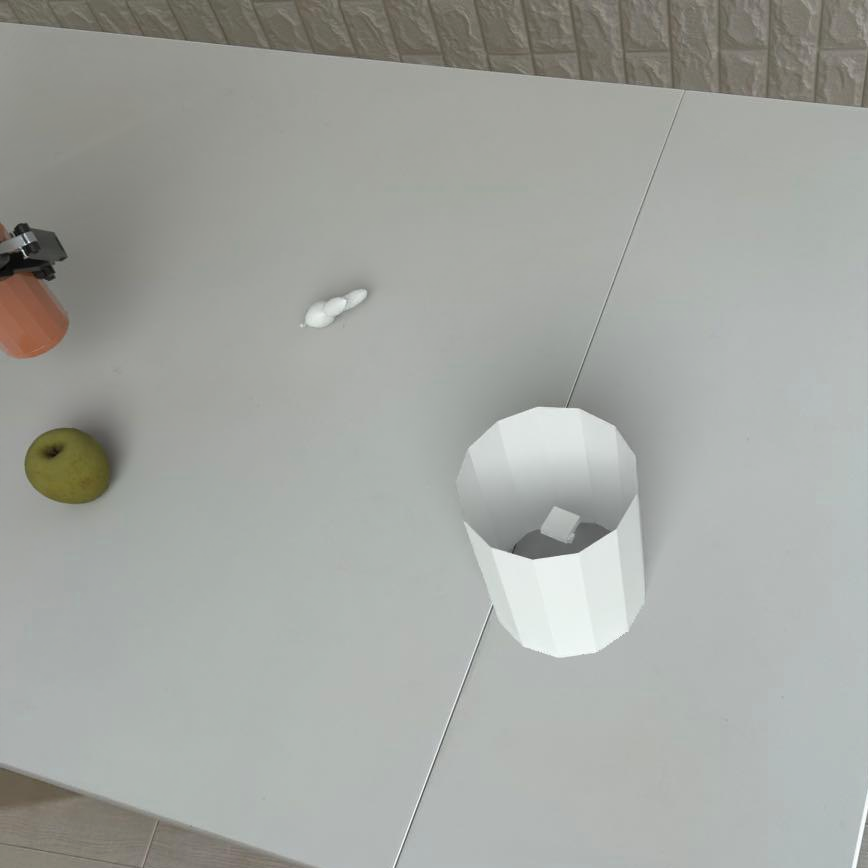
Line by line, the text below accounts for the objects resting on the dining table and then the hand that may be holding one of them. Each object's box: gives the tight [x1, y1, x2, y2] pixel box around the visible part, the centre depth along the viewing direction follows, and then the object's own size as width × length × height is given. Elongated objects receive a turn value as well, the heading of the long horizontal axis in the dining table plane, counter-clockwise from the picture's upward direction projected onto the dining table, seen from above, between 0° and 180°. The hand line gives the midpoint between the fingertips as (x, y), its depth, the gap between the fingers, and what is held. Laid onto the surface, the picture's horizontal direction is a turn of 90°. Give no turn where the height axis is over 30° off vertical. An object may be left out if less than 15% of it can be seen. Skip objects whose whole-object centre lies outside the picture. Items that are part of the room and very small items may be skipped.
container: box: [454, 406, 646, 659], centre depth 90 cm, size 14×14×18 cm
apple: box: [23, 427, 111, 505], centre depth 108 cm, size 8×8×7 cm
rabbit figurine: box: [299, 288, 368, 329], centre depth 117 cm, size 6×4×8 cm
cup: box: [0, 221, 70, 360], centre depth 102 cm, size 7×7×12 cm
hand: (6, 284), depth 106 cm, fingers closed on cup, 7 cm apart
